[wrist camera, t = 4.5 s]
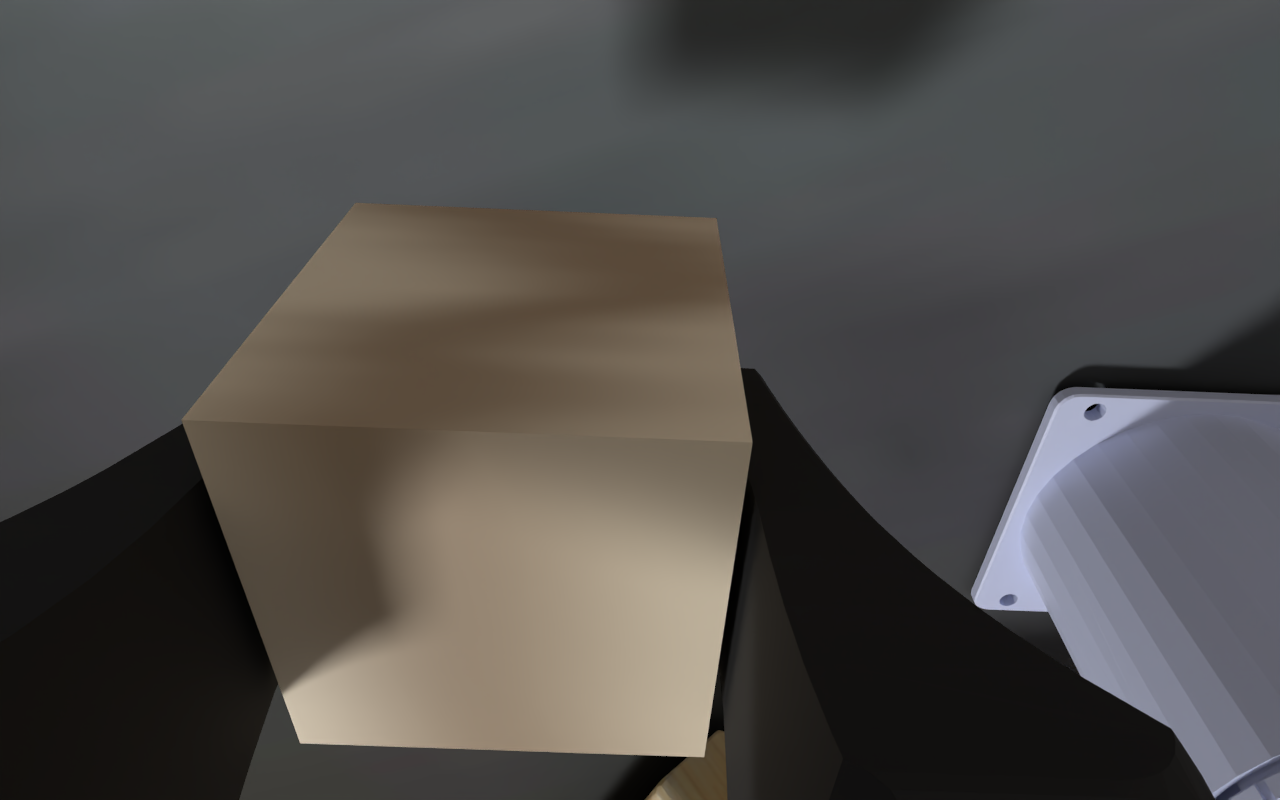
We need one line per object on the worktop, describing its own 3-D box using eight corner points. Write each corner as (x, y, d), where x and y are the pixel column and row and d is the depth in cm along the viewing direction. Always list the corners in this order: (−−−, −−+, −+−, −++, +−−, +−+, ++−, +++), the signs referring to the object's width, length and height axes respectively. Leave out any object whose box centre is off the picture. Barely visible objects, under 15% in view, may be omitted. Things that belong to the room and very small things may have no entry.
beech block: (716, 217, 11) (752, 442, 7) (689, 487, 14) (704, 757, 10) (354, 203, 11) (181, 419, 7) (403, 477, 14) (300, 743, 10)
